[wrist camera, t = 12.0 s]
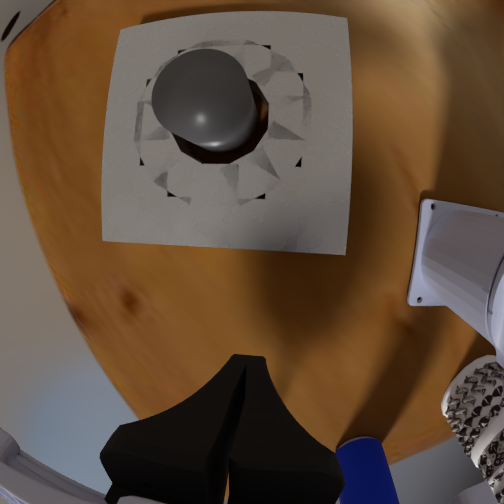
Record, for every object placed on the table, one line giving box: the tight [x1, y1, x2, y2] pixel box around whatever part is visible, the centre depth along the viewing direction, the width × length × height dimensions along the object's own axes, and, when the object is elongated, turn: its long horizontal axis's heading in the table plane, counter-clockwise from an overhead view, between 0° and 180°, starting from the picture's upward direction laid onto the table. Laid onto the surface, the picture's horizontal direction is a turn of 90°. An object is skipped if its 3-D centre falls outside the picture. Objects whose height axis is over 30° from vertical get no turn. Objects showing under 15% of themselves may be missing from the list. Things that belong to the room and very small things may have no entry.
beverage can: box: [335, 436, 399, 504], centre depth 16 cm, size 5×5×15 cm
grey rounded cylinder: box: [151, 49, 259, 154], centre depth 15 cm, size 5×5×7 cm
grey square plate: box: [102, 11, 353, 255], centre depth 17 cm, size 16×16×2 cm
